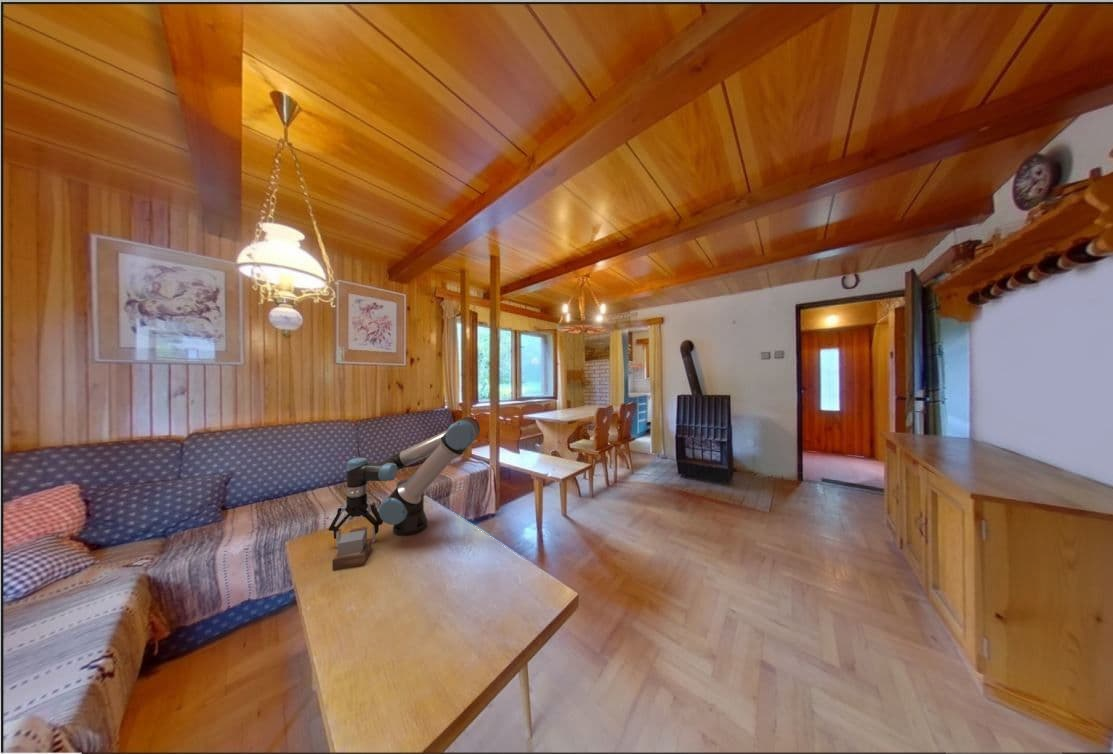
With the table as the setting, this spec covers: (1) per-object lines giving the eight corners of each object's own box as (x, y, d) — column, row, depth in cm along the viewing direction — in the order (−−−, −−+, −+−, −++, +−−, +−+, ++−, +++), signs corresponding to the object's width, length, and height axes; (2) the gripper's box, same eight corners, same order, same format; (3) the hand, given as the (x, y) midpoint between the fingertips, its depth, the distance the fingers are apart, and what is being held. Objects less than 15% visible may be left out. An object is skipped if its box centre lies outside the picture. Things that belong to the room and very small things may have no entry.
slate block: (342, 545, 125) (342, 533, 125) (365, 541, 129) (365, 529, 128) (337, 556, 118) (337, 543, 118) (362, 551, 121) (362, 539, 121)
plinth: (344, 552, 128) (344, 542, 128) (371, 548, 131) (371, 539, 131) (332, 570, 116) (332, 559, 116) (362, 565, 119) (362, 555, 119)
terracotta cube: (351, 541, 136) (351, 528, 136) (366, 539, 138) (366, 526, 138) (346, 549, 131) (346, 535, 130) (362, 546, 132) (362, 533, 132)
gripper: (319, 501, 127) (319, 552, 127) (386, 494, 134) (386, 543, 134) (326, 494, 134) (326, 542, 134) (390, 488, 141) (390, 534, 142)
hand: (356, 543), depth 134 cm, fingers open, 13 cm apart
